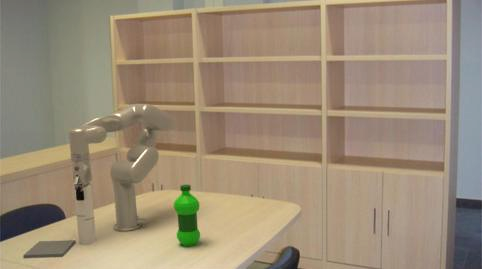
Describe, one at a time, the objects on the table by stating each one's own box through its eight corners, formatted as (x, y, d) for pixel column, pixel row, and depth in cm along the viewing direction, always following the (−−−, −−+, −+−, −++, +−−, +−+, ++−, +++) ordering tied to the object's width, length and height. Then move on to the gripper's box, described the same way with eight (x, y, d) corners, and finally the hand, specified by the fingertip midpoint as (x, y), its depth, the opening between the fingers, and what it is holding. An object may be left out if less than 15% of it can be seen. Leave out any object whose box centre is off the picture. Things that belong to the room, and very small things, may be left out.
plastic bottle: (178, 240, 228) (174, 183, 225) (202, 239, 228) (199, 182, 224) (174, 248, 218) (170, 189, 215) (200, 247, 218) (196, 188, 214)
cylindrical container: (81, 239, 235) (76, 184, 231) (97, 238, 235) (92, 183, 232) (77, 245, 228) (72, 188, 224) (94, 244, 228) (89, 187, 224)
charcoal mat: (75, 242, 231) (75, 240, 231) (62, 256, 215) (62, 253, 215) (39, 243, 231) (39, 241, 231) (23, 257, 216) (23, 255, 215)
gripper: (81, 160, 217) (85, 203, 220) (95, 153, 234) (98, 192, 237) (63, 161, 218) (67, 203, 220) (78, 153, 235) (82, 192, 237)
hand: (83, 197), depth 229 cm, fingers closed on cylindrical container, 7 cm apart
